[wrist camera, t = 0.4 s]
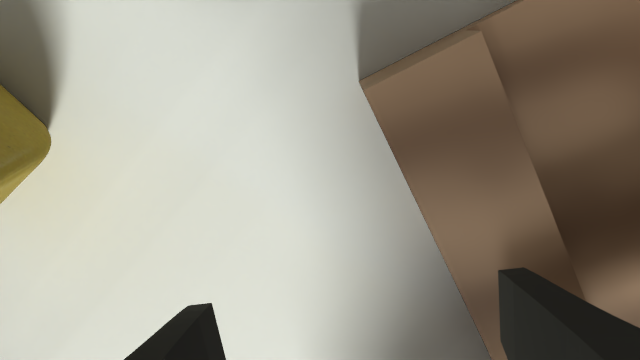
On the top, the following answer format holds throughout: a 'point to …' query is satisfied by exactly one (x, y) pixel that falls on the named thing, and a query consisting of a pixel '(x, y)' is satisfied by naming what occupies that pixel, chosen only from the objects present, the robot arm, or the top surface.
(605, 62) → the board
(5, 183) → the flower pot
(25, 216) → the top surface
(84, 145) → the top surface
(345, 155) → the top surface
